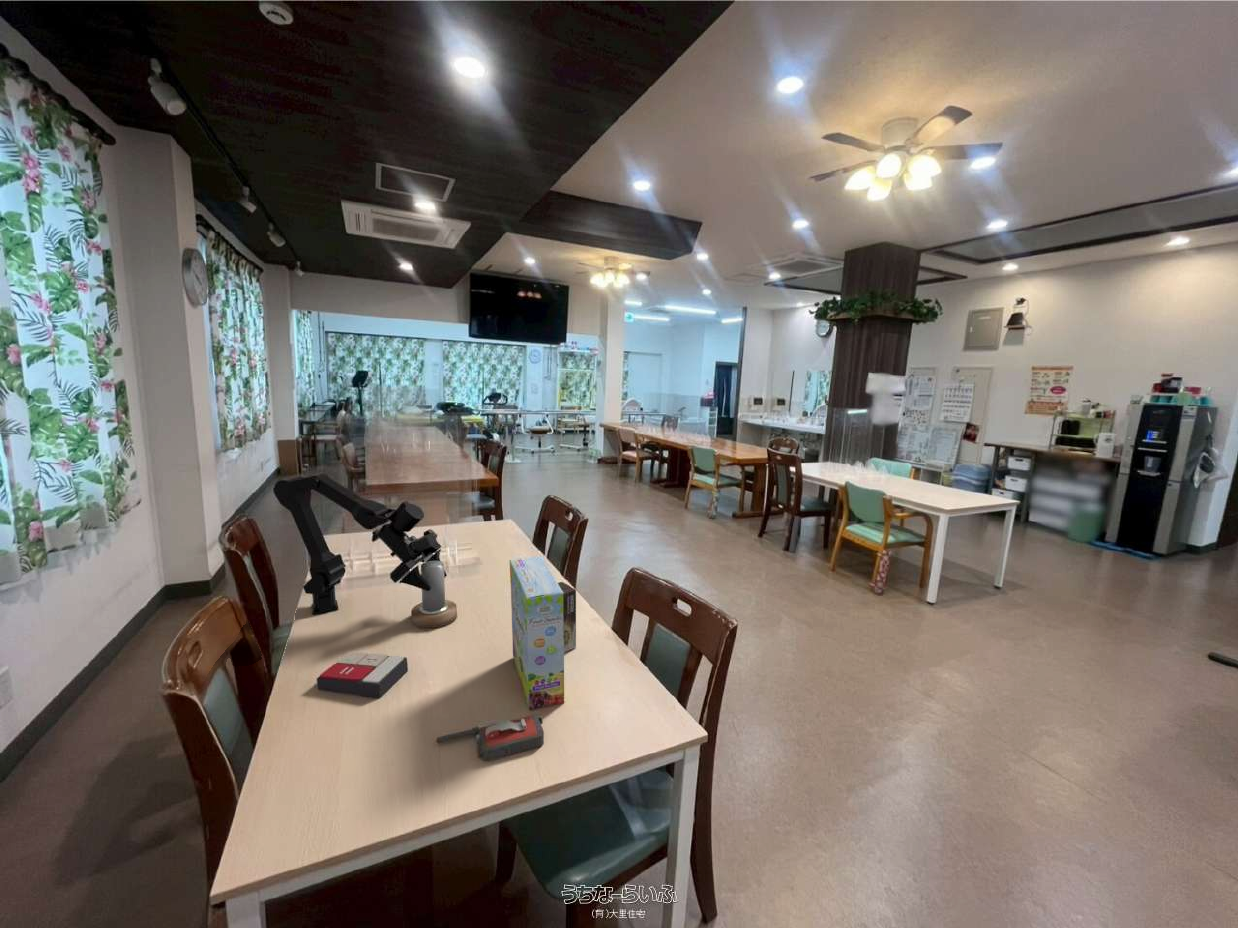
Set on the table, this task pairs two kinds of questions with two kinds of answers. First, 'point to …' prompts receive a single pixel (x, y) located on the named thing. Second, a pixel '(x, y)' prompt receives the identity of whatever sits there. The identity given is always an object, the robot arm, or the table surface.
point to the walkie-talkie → (503, 737)
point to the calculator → (363, 674)
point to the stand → (434, 617)
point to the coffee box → (569, 616)
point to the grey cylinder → (433, 588)
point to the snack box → (537, 631)
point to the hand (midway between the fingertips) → (438, 583)
